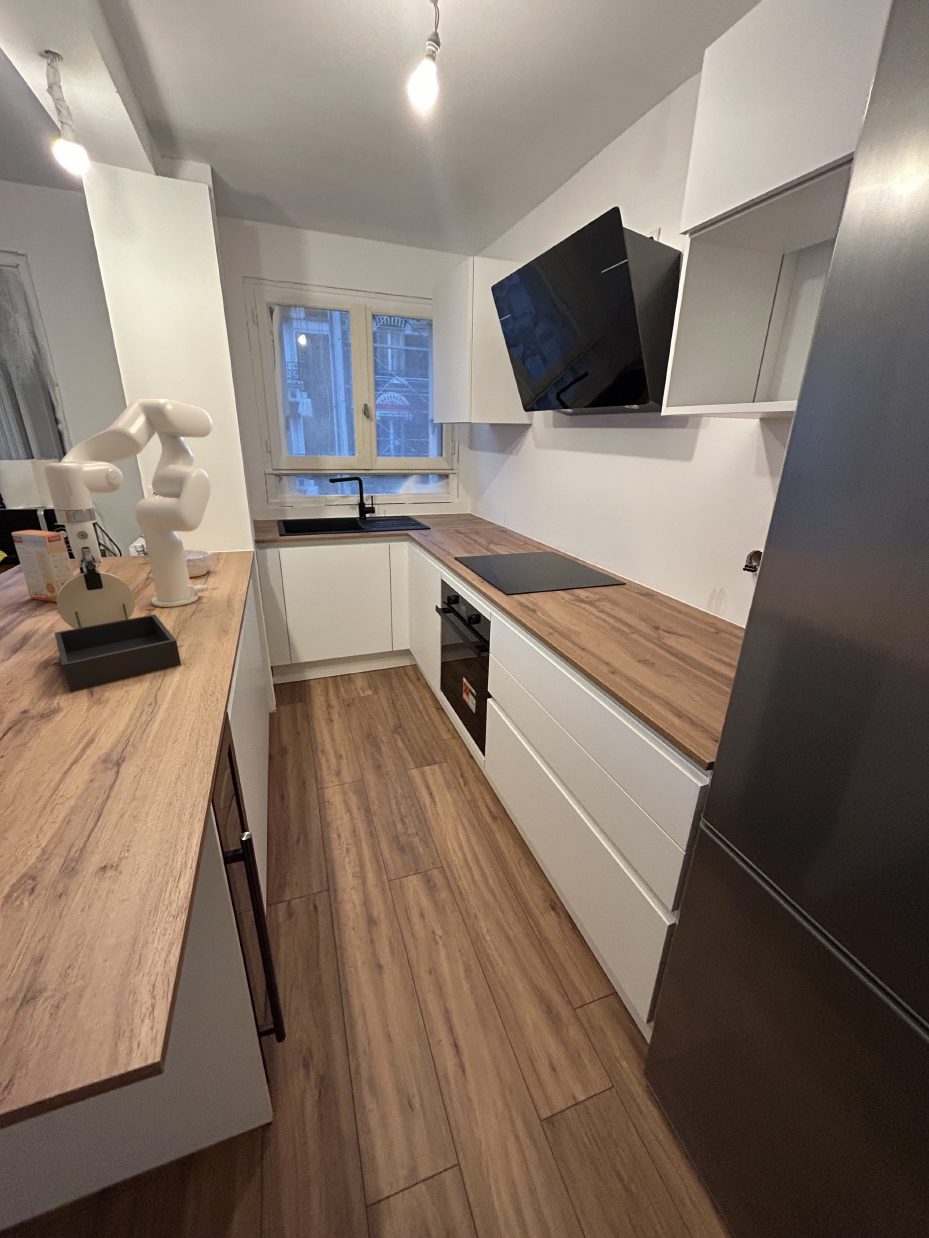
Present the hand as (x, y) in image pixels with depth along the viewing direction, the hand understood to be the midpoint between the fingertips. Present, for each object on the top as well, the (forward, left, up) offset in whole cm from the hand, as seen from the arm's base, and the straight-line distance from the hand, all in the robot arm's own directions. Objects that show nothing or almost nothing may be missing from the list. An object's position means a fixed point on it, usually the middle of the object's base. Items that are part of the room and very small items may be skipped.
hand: (92, 585), depth 122 cm
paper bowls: (-32, -48, -13) cm, 59 cm away
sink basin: (0, +23, -13) cm, 26 cm away
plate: (0, 0, -13) cm, 13 cm away
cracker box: (+8, -42, -13) cm, 45 cm away
